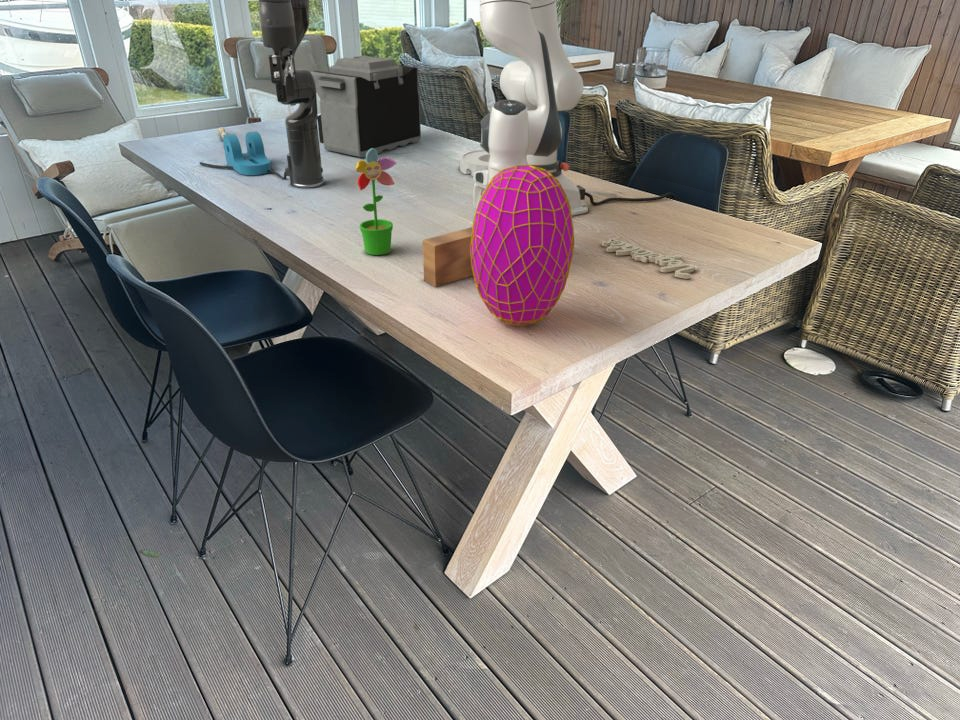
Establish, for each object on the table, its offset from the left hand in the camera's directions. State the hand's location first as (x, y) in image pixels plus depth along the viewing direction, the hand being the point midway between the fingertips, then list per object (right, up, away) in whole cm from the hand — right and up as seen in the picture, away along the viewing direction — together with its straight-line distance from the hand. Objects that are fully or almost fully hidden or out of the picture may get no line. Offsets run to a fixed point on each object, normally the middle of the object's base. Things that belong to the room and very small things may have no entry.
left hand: (286, 98), depth 165 cm
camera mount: (-30, +1, +64) cm, 71 cm away
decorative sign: (+87, -38, 0) cm, 95 cm away
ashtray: (+51, +2, +67) cm, 84 cm away
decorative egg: (+54, -55, -29) cm, 82 cm away
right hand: (+52, -34, -5) cm, 63 cm away
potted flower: (+22, -36, +2) cm, 42 cm away
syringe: (-52, +22, +99) cm, 114 cm away
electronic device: (+6, +18, +93) cm, 95 cm away
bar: (+45, -42, -7) cm, 62 cm away
